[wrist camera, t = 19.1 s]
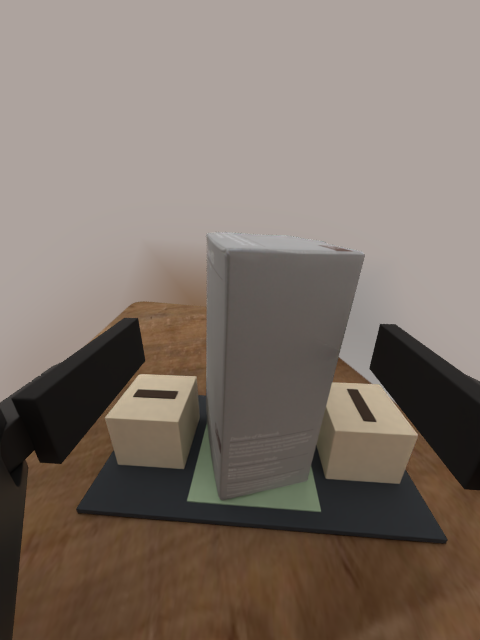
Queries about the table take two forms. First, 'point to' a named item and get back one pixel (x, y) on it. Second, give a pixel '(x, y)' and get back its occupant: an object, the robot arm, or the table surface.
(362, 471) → the dark base board
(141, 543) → the table surface
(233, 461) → the cosmetic box
